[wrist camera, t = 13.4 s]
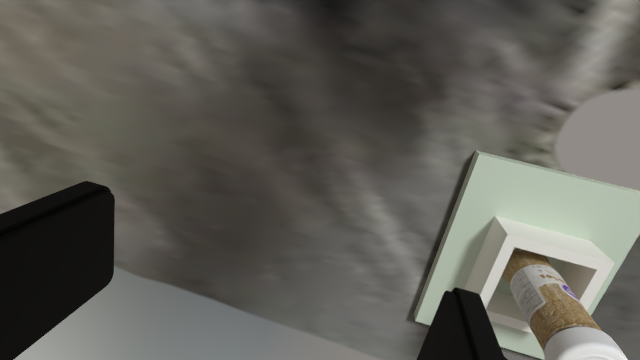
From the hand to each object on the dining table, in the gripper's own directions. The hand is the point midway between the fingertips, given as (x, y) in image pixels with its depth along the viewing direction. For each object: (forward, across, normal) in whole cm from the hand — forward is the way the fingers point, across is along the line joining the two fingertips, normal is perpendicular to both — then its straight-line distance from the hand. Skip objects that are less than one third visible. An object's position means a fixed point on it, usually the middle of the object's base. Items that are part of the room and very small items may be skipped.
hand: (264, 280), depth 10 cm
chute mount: (+28, -20, +10) cm, 36 cm away
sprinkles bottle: (+27, -20, +10) cm, 35 cm away
